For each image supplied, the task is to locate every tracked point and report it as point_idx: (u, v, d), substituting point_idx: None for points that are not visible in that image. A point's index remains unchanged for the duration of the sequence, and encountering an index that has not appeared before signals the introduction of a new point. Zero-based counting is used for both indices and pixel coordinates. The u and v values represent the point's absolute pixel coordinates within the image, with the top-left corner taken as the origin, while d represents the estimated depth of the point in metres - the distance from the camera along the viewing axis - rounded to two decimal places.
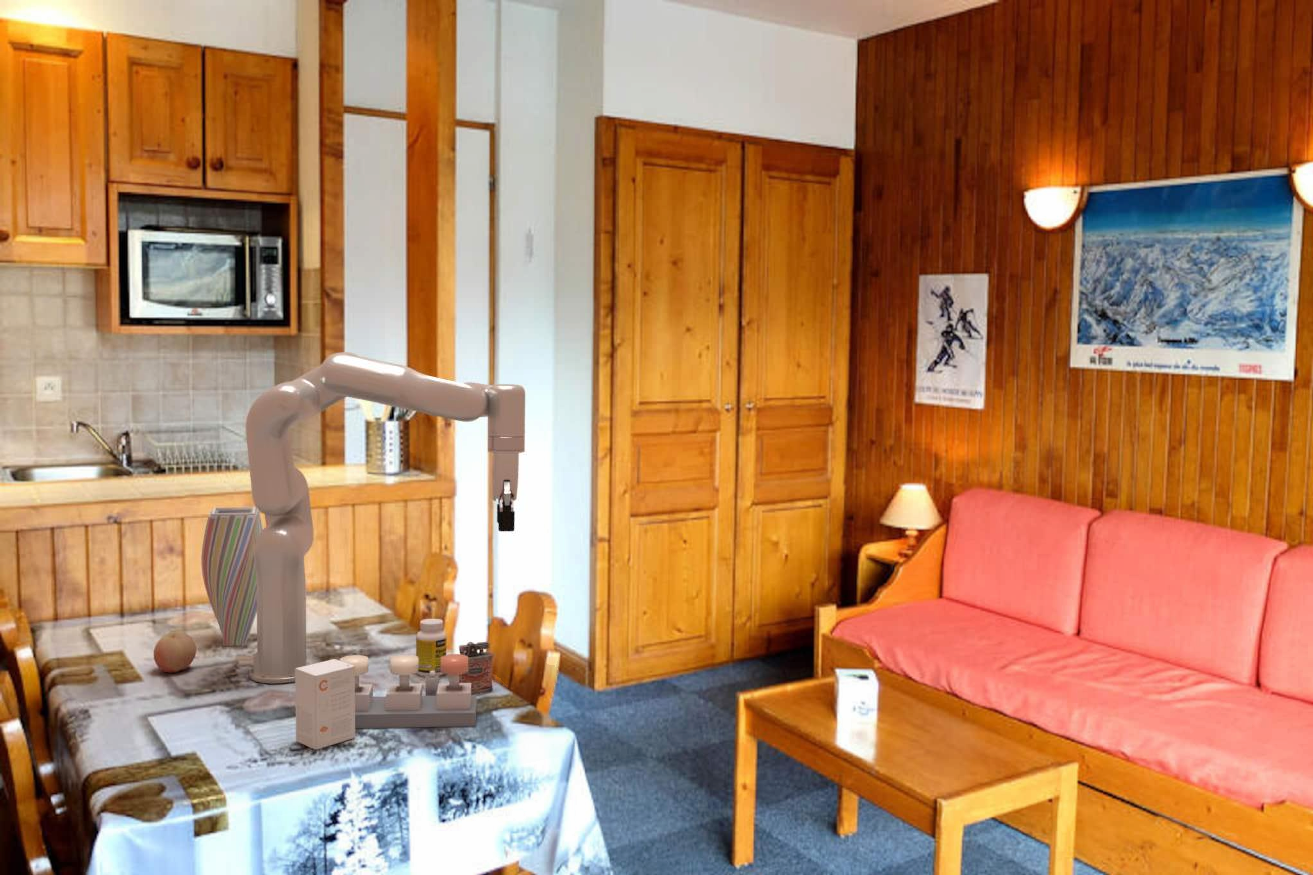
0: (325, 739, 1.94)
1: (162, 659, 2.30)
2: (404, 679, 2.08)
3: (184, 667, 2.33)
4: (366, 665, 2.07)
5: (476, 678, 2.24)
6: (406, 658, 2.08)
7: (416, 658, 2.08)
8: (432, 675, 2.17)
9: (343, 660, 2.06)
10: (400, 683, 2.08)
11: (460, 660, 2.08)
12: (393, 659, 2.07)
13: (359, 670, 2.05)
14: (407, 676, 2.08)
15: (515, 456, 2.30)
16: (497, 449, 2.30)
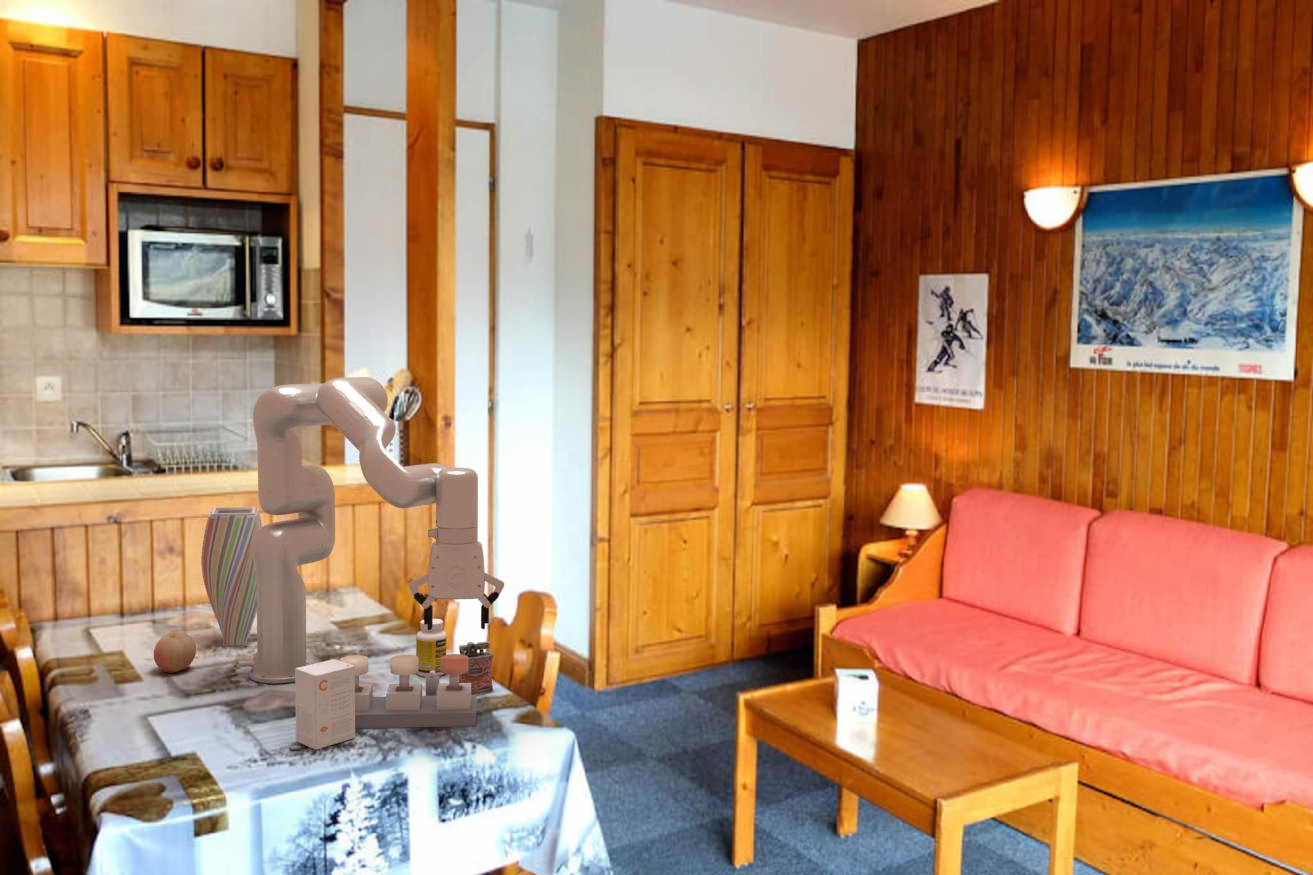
0: (325, 739, 1.94)
1: (162, 659, 2.30)
2: (404, 679, 2.08)
3: (184, 667, 2.33)
4: (366, 665, 2.07)
5: (476, 678, 2.24)
6: (406, 658, 2.08)
7: (416, 658, 2.08)
8: (432, 675, 2.17)
9: (343, 660, 2.06)
10: (400, 683, 2.08)
11: (460, 660, 2.08)
12: (393, 659, 2.07)
13: (359, 670, 2.05)
14: (407, 676, 2.08)
15: None
16: (474, 541, 2.06)
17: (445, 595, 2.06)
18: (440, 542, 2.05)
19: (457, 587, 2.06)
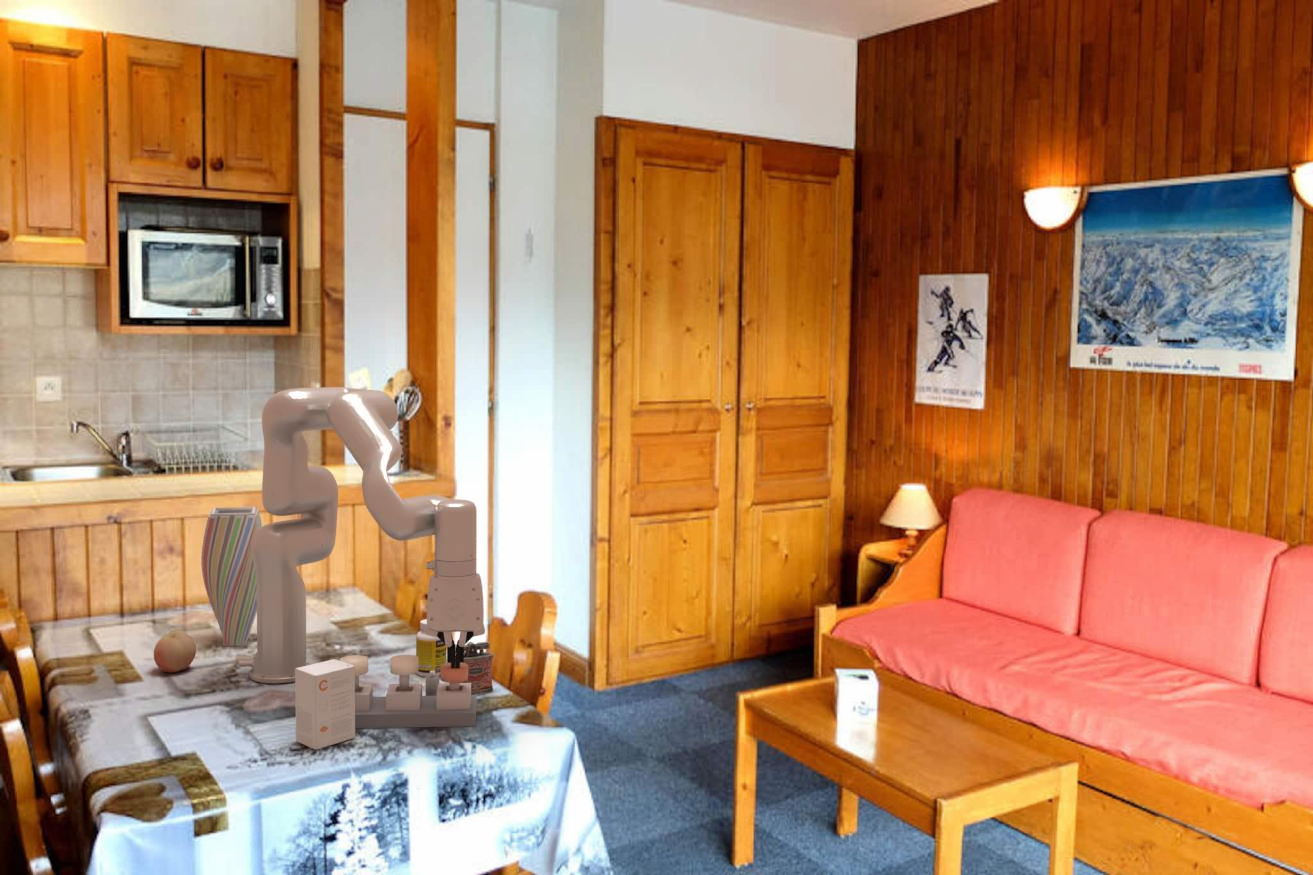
0: (325, 739, 1.94)
1: (162, 659, 2.30)
2: (404, 679, 2.08)
3: (184, 667, 2.33)
4: (366, 665, 2.07)
5: (476, 678, 2.24)
6: (406, 658, 2.08)
7: (416, 658, 2.08)
8: (432, 675, 2.17)
9: (343, 660, 2.06)
10: (400, 683, 2.08)
11: (460, 668, 2.08)
12: (393, 659, 2.07)
13: (359, 670, 2.05)
14: (407, 676, 2.08)
15: None
16: (473, 573, 2.06)
17: (444, 627, 2.06)
18: (439, 574, 2.05)
19: (456, 619, 2.06)
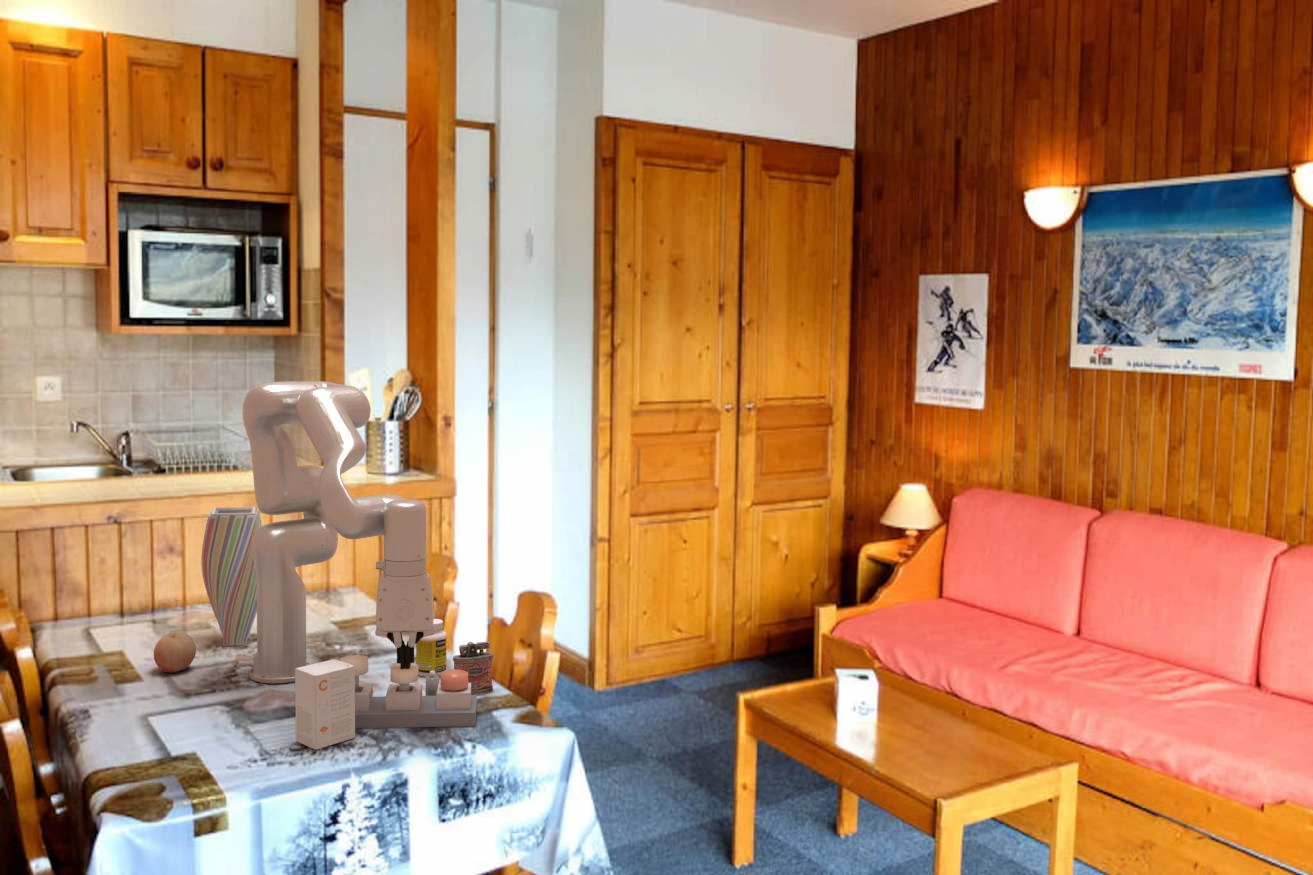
0: (325, 739, 1.94)
1: (162, 659, 2.30)
2: (404, 688, 2.08)
3: (184, 667, 2.33)
4: (366, 665, 2.07)
5: (476, 678, 2.24)
6: None
7: (416, 666, 2.09)
8: (432, 675, 2.17)
9: (343, 660, 2.06)
10: None
11: (460, 676, 2.08)
12: (393, 667, 2.07)
13: (359, 670, 2.05)
14: (407, 684, 2.08)
15: None
16: (422, 573, 2.05)
17: (393, 628, 2.05)
18: (388, 575, 2.04)
19: (405, 620, 2.05)
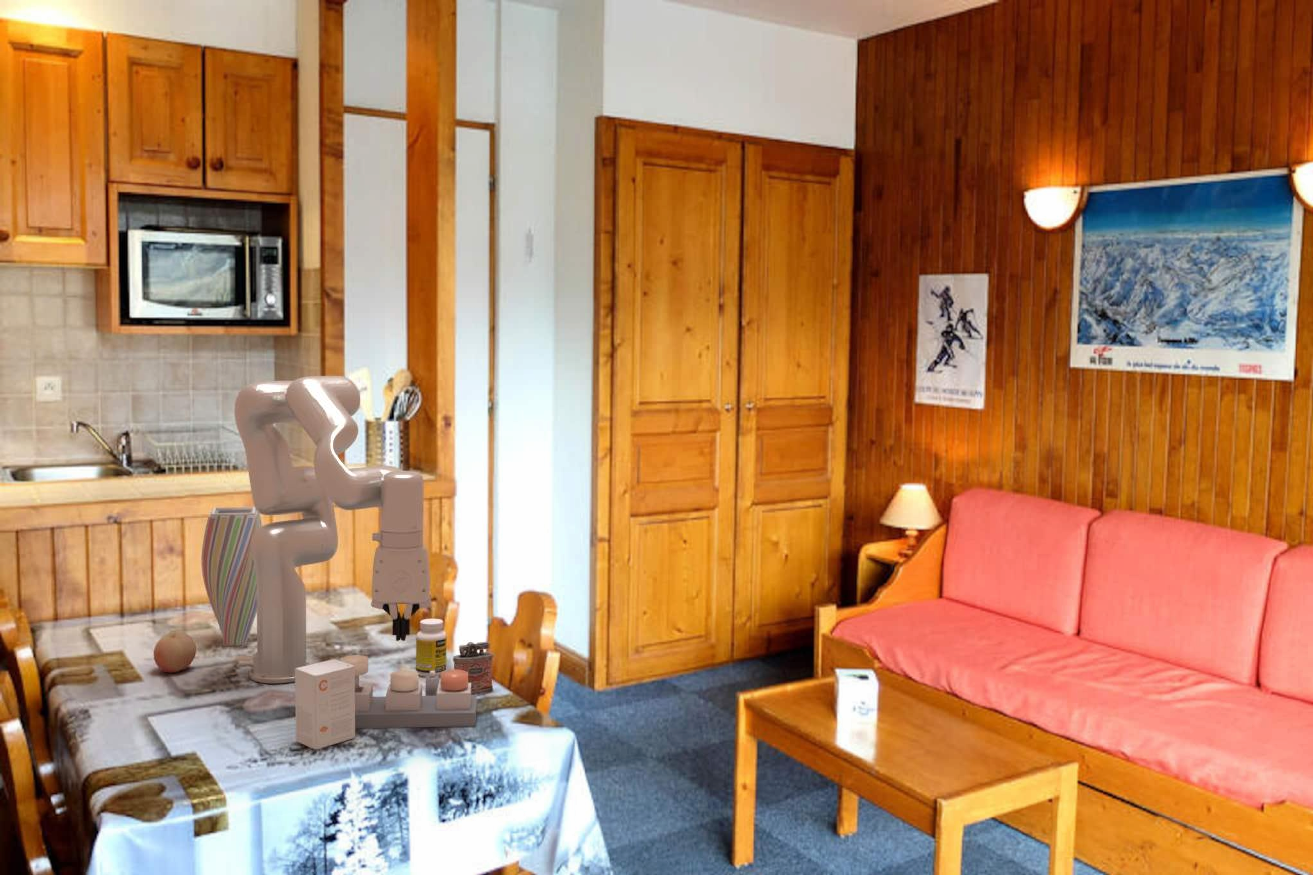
0: (325, 739, 1.94)
1: (162, 659, 2.30)
2: None
3: (184, 667, 2.33)
4: (366, 665, 2.07)
5: (476, 678, 2.24)
6: (406, 674, 2.09)
7: (416, 674, 2.09)
8: (432, 675, 2.17)
9: (343, 660, 2.06)
10: None
11: (460, 676, 2.08)
12: (393, 675, 2.08)
13: (359, 670, 2.05)
14: None
15: None
16: (419, 545, 2.05)
17: (389, 599, 2.04)
18: (384, 546, 2.03)
19: (401, 591, 2.04)
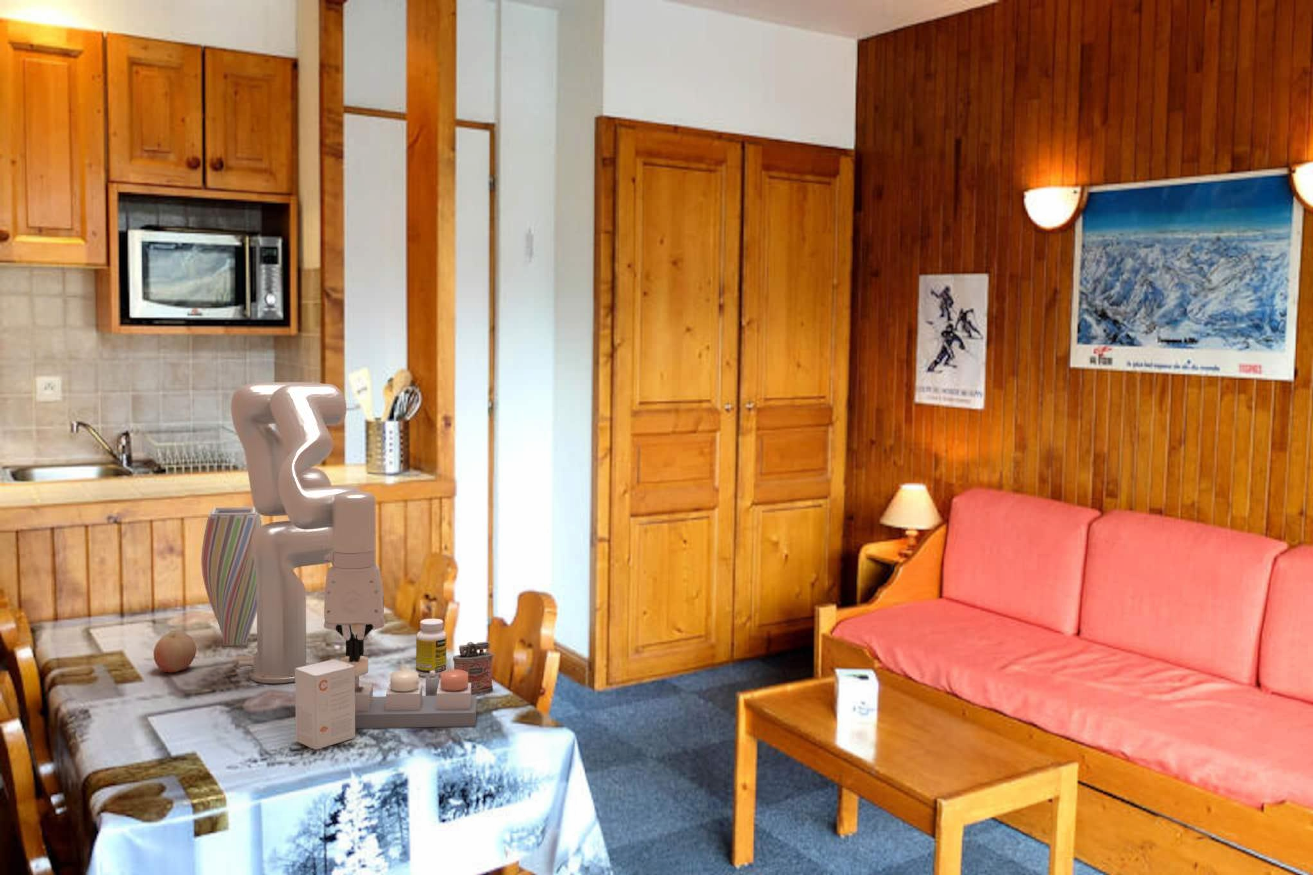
0: (325, 739, 1.94)
1: (162, 659, 2.30)
2: None
3: (184, 667, 2.33)
4: (366, 665, 2.07)
5: (476, 678, 2.24)
6: (406, 674, 2.09)
7: (416, 674, 2.09)
8: (432, 675, 2.17)
9: (343, 660, 2.06)
10: None
11: (460, 676, 2.08)
12: (393, 675, 2.08)
13: (359, 670, 2.05)
14: None
15: None
16: (371, 565, 2.04)
17: (341, 620, 2.03)
18: (336, 567, 2.03)
19: (353, 612, 2.03)
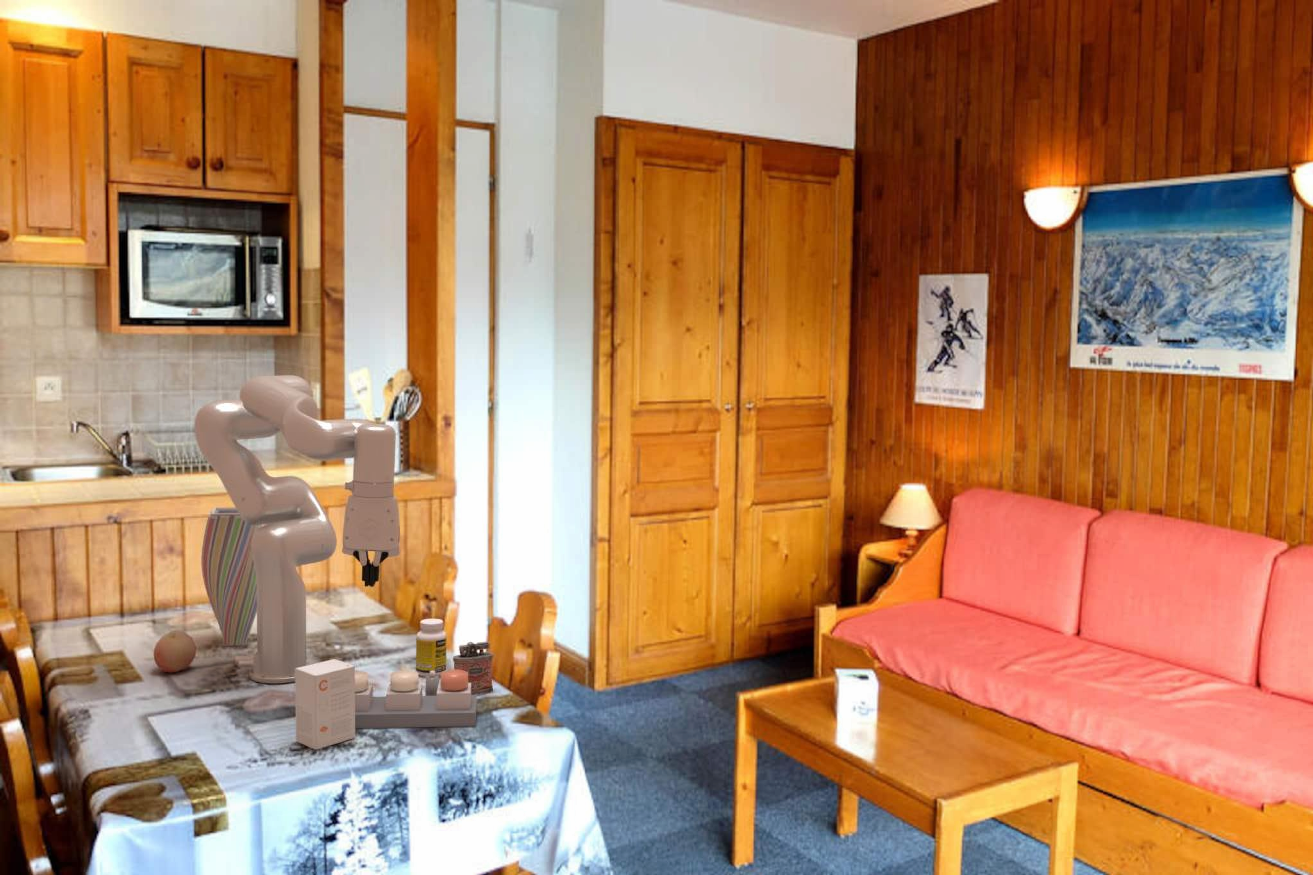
0: (325, 739, 1.94)
1: (162, 659, 2.30)
2: None
3: (184, 667, 2.33)
4: (366, 681, 2.07)
5: (476, 678, 2.24)
6: (406, 674, 2.09)
7: (416, 674, 2.09)
8: (432, 675, 2.17)
9: None
10: None
11: (460, 676, 2.08)
12: (393, 675, 2.08)
13: (359, 686, 2.06)
14: None
15: None
16: (389, 495, 2.13)
17: (358, 546, 2.13)
18: (355, 495, 2.12)
19: (370, 539, 2.13)
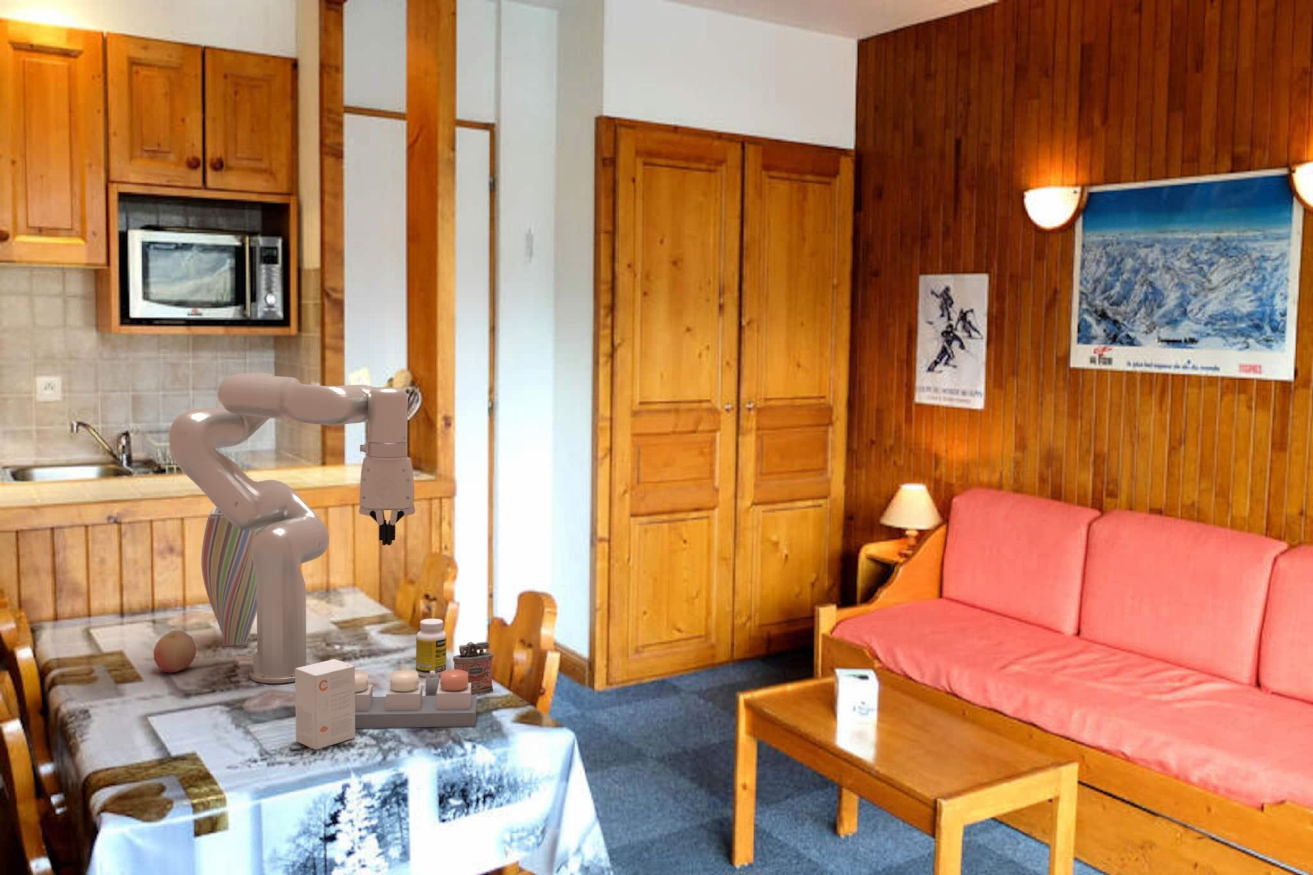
0: (325, 739, 1.94)
1: (162, 659, 2.30)
2: None
3: (184, 667, 2.33)
4: (366, 681, 2.07)
5: (476, 678, 2.24)
6: (406, 674, 2.09)
7: (416, 674, 2.09)
8: (432, 675, 2.17)
9: None
10: None
11: (460, 676, 2.08)
12: (393, 675, 2.08)
13: (359, 686, 2.06)
14: None
15: None
16: (403, 455, 2.20)
17: (375, 506, 2.20)
18: (371, 456, 2.19)
19: (387, 498, 2.20)
